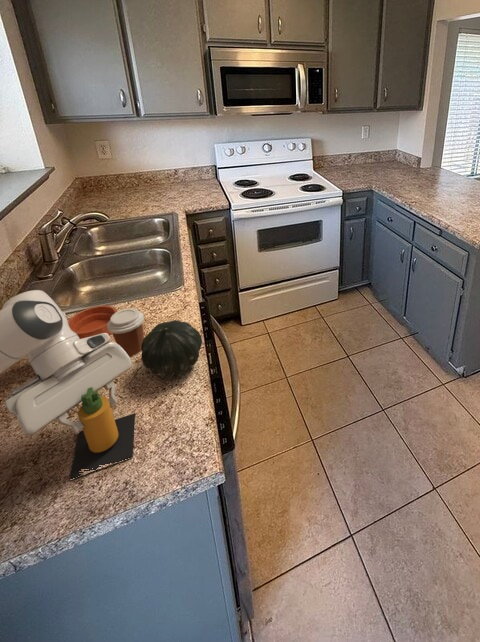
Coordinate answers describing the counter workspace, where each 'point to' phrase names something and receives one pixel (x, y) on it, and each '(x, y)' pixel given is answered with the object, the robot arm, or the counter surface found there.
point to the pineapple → (97, 421)
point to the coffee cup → (127, 330)
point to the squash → (171, 348)
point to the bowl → (92, 321)
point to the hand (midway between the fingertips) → (98, 417)
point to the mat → (113, 454)
